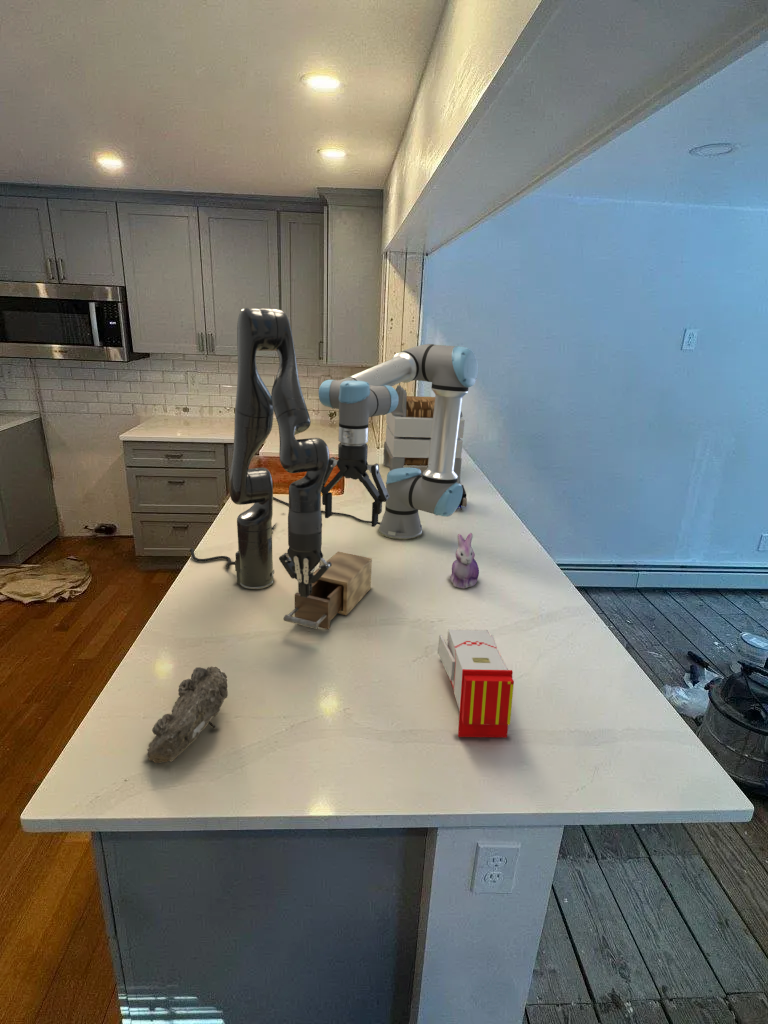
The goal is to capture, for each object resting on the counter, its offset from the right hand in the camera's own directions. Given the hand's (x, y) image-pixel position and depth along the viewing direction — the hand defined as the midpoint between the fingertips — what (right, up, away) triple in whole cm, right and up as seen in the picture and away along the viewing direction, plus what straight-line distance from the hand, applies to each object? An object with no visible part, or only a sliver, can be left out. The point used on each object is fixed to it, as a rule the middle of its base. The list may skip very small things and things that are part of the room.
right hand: (351, 520), depth 152 cm
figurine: (+32, -18, +14) cm, 40 cm away
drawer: (-7, -24, -9) cm, 27 cm away
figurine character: (+38, +5, +79) cm, 88 cm away
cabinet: (-3, -21, +3) cm, 21 cm away
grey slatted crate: (+26, +21, +123) cm, 128 cm away
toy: (+27, -35, -33) cm, 55 cm away
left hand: (-10, -17, -19) cm, 28 cm away
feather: (-30, -3, +49) cm, 57 cm away
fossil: (-26, -37, -46) cm, 65 cm away
